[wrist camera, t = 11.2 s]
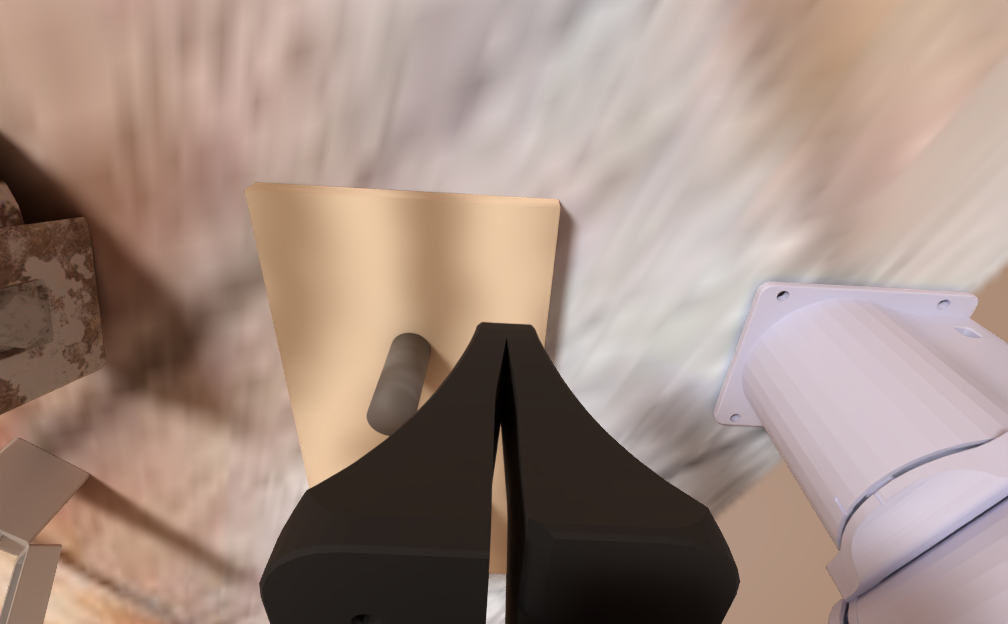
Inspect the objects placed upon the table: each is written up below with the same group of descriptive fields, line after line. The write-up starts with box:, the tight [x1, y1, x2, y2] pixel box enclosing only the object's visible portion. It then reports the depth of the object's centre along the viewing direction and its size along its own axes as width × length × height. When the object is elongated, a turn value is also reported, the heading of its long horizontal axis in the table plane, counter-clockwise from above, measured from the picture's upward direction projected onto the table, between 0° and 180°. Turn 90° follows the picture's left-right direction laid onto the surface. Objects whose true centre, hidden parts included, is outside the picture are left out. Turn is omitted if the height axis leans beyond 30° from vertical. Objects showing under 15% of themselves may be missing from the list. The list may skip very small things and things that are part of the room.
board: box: [245, 182, 560, 574], centre depth 24 cm, size 12×24×6 cm, turn 177°
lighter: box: [0, 438, 90, 624], centre depth 25 cm, size 7×2×8 cm, turn 43°
